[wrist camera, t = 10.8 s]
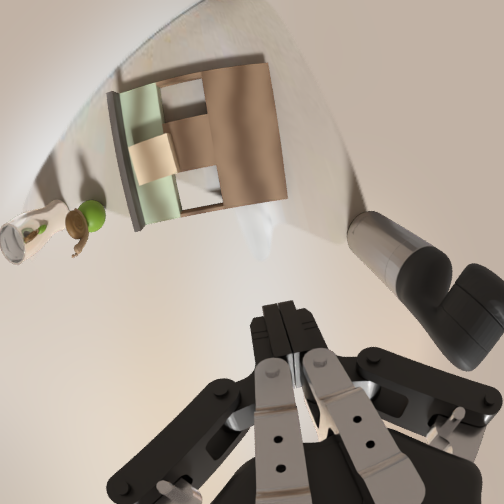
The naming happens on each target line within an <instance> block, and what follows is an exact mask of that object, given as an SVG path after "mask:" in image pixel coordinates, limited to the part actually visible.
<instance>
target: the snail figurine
mask: <svg viewBox="0 0 504 504" xmlns="http://www.w3.org/2000/svg"><path fill="white" fill-rule="evenodd" d="M105 217H106V214H105V209H104V207H103V206H102V205H101V204H100V203H99V202H97V201H95V200H88V201H85V202H84V203H82V204H81V205H80V206H79V208H78V209H76V208H75V209H74V210H72V211H70V212H68V213H67V215H66V218H65V226H66V229H67V231H68V233H69V235H70V236H71V237H72V238H74V239H80V241H79V243H78V244H76V245H75V247H74V250H75V252H76V253H75V255H74V254H73V255H72V258H74V257H75V256H78V254H79V253H81V251H82V249H83V247H84V246H85V244H86V242H87V240H88V236H89V232H95V231H97V230H99V229H100V228H101V227H102V225H103V224H104V222H105Z"/></svg>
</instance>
